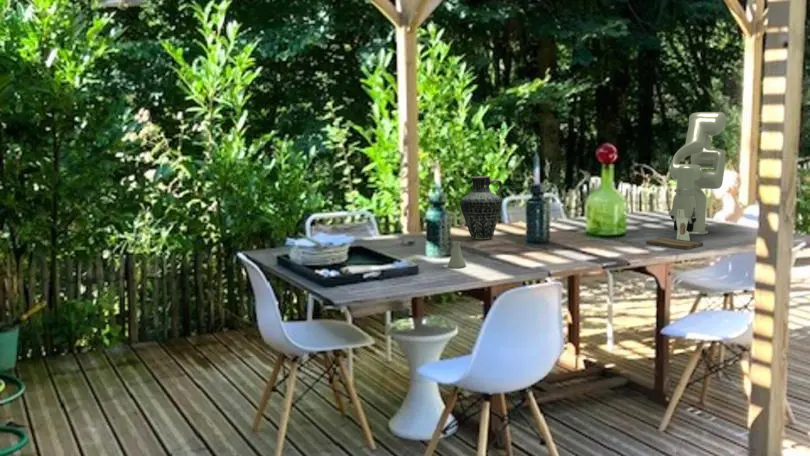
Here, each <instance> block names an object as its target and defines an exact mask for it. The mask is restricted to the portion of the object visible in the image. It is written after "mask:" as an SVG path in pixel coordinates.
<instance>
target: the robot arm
mask: <svg viewBox="0 0 810 456" xmlns="http://www.w3.org/2000/svg"><path fill="white" fill-rule="evenodd" d="M726 126H727V116H726V114H725V112H721V111H717V112H716V111H700V112H699V111H698V112H693V113H691V114H690V115H689V117H688V128H687V132H686V139H685V144H684V145H683V146H682V147H680V148H679V149H678V150H677V151H676V152H675V154H673V157H672V160H671V165H670V168H669V169H670V171H669V175H670V177H671V178H672V179H673V180H675V181H676V189H674V193H675V195H674V196H673V199H672V200H673V201H672V206H671V210H669V212H668V216H669V217H670V218H671V221H672V222H673V231H677V225H676V216H677V211H678V209H684V210H685V211H684V214H685V217H686V218H689V224H688V232H689V235H697V236H698V235H707V234H708V233H709V230H707V229H706V228H709V224H708V223H706V217H707V214H706V213H707V212H706V211H707V196H706V194H705V192H704V191H703V190H705V189H706V190H718V189H720V188H721V187H722V185H723V180H724V173H725V169H726V168H725V167H726V153H725V151H724V150H723V149H721V148H712V143H713V142H712V139H711V137H710V136H718V135H719V134H721V133H722V132H723V130H724V129H725V127H726ZM689 156H690V163H689V164H688V163H680V162H681V161H683V159H685V158H686V157H687V158H688V157H689Z"/></svg>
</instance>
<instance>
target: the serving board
mask: <svg viewBox="0 0 810 456" xmlns="http://www.w3.org/2000/svg"><path fill="white" fill-rule="evenodd" d="M645 242H646V243H645V244H646V245H648V244H650V245H649V246H656V247H664V248H669V249H670V248H671V249H672V248H673V249H677V250H684V251H685V250H686V251H687V250H692V249H695V248H700V247H704V242H700V241H693V240H690V241H686V240H679V239H676V238H671V237H670V238H669V237H659V238H654V239H650V240H646V241H645Z"/></svg>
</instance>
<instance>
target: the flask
mask: <svg viewBox="0 0 810 456" xmlns="http://www.w3.org/2000/svg"><path fill="white" fill-rule="evenodd" d="M461 244H462V242H461V241H453V242H452V246H453V247H452V252H451V255H450V258H449V261H448V264H447V268H453V269H461V268H466V267H467V264H466V262H465V258H464V256H463V254H462V249H461Z"/></svg>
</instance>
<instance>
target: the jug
mask: <svg viewBox="0 0 810 456" xmlns="http://www.w3.org/2000/svg"><path fill="white" fill-rule="evenodd" d="M471 183H472V190H471V191H470V192H469V193H468V194H466V195H464V196H462V198H461V200H460V203H459V204H460V210H461V212H462V215H463V218H464V220H465V223H466V227H467V230H468V232H469V236H470V238H472V239H473V240H490V239H493V238H494V234H495V230H496V227H497V223H498V221H499V217H500V214H501V210H502V205H503V203H502V199H501V198H502V197H501V193H502V190H503V187H504V186H503V185H504V184H503V182H502V180H500V179H498V178H495V179H491V176H490V175H483V176H482V175H478V176H477V175H475V176H471ZM494 183H498V189H497V193H496V194H495V193H493V192H492V191H491V189H490V185H493V184H494Z"/></svg>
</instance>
